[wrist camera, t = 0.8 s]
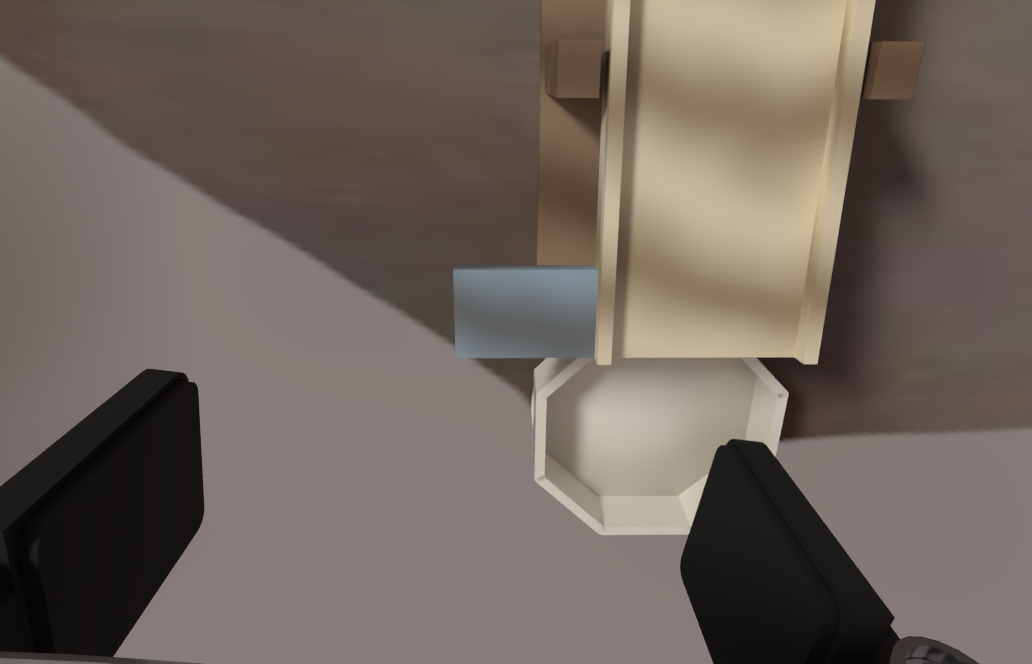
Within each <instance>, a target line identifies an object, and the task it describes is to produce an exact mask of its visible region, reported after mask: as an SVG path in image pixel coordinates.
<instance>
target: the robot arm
mask: <svg viewBox="0 0 1032 664" xmlns="http://www.w3.org/2000/svg"><path fill="white" fill-rule="evenodd" d="M200 436H201V435H200V416H199V398H198V387H197V385H196V384H195V383H194V382H189V381H188V378H187V376H186V375H185V374H184V373H181V372H172V371H164V370H155V369H146V370H145V371H143V372H141V373H140V374H139V375H138V376H137V377H135V378H134V379H133V380H132V381H130V382H129V383H128V384H127V385H125V386H124V387H123V388H122V389H120V390H119V391H118V392H117V393H116V394H114V395H113V396H112V397H111V398H109V399H108V400H107V401H106V402H104V403H103V404H102V405H101V406H99V407H98V408H97V409H96V410H94V411H93V412H92V413H91V414H90V415H88V416H87V417H86V418H85V419H83V420H82V421H81V422H80V423H78V424H77V425H76V426H75V427H73V428H72V429H71V430H70V431H68V432H67V433H66V434H65V435H64V436H62V437H61V438H60V439H59V440H57V441H56V442H55V443H54V444H52V445H51V446H50V447H49V448H47V449H46V450H45V451H44V452H42V453H41V454H40V455H39V456H38V457H36V458H35V459H34V460H33V461H32V462H30V463H29V464H28V465H27V466H25V467H24V468H23V469H21V470H20V471H19V472H18V473H17V474H16V475H14V476H13V477H12V478H10V479H9V480H8V481H7V482H5V483H4V484H3V485H2V486H0V664H202V663H188V662H175V661H162V660H147V659H133V658H117V657H113V656H114V655H115V653H116V652H117V650H118V649H119V647H120V646H121V644H122V643H123V641H124V640H125V638H126V637H127V635H128V634H129V632H130V631H131V629H132V628H133V626H134V625H135V623H136V622H137V620H138V619H139V618H140V616H141V614H142V613H143V612H144V610H145V609H146V607H147V606H148V604H149V603H150V601H151V600H152V598H153V597H154V595H155V594H156V592H157V591H158V589H159V588H160V586H161V585H162V583H163V582H164V580H165V579H166V577H167V576H168V574H169V573H170V571H171V570H172V568H173V567H174V565H175V564H176V562H177V561H178V559H179V558H180V557H181V555H182V554H183V552H184V551H185V549H186V548H187V546H188V545H189V543H190V542H191V540H192V539H193V537H194V535H195V534H196V533H197V531H198V529H199V528H200V525H201V523H202V519H203V515H204V494H203V474H202V456H201V437H200ZM680 569H681V570H680V571H681V576H682V580H683V583H684V585H685V588H686V590H687V594H688V596H689V599H690V602H691V604H692V607H693V610H694V612H695V615H696V618H697V620H698V623H699V626H700V629H701V631H702V634H703V637H704V639H705V642H706V645H707V647H708V650H709V653H710V655H711V658H712V661H713V663H714V664H979V663H977V662H976V661H975V660H973V659H971V658H970V657H968V656H967V655H965V654H963V653H962V652H960V651H959V650H957V649H955V648H953V647H950V646H948V645H946V644H944V643H941V642H939V641H936V640H932V639H928V638H925V637H912V636H908V637H905V638H903V639H899V637H898V636H897V634H896V633H895V632H894V630H893V629H892V628H891V626H890V625H891V623H892V622H893V620H894V618H895V617H894V616H893V615H892V614H891V612H890V611H889V609H888V608H887V607H886V605H885V604H884V603H883V601H882V600H881V599H880V597H879V596H878V595H877V593H876V592H875V591H874V589H873V588H872V586H871V585H870V584H869V582H868V581H867V580H866V578H865V577H864V576H863V574H862V573H861V572H860V570H859V569H858V568H857V566H856V565H855V564H854V562H853V561H852V560H851V558H850V557H849V555H848V554H847V553H846V551H845V550H844V549H843V547H842V546H841V545H840V543H839V542H838V541H837V539H836V538H835V537H834V535H833V534H832V533H831V531H830V530H829V529H828V527H827V526H826V525H825V523H824V522H823V521H822V519H821V518H820V516H819V515H818V514H817V512H816V511H815V510H814V508H813V507H812V506H811V504H810V503H809V502H808V500H807V499H806V498H805V496H804V495H803V494H802V492H801V491H800V490H799V488H798V487H797V486H796V484H795V483H794V482H793V480H792V479H791V478H790V476H789V475H788V473H787V472H786V471H785V469H784V468H783V467H782V465H781V464H780V463H779V461H778V460H777V459H776V457H775V456H774V455H773V453H772V452H771V451H770V449H769V448H768V447H767V445H766V444H764V443H763V442H757V441H748V440H740V439H731V440H729V441H728V443H727V444H726V446H725V445H721V446H719V447H718V448H717V450H716V453H715V456H714V459H713V462H712V465H711V468H710V471H709V474H708V477H707V480H706V483H705V486H704V489H703V492H702V496H701V499H700V502H699V505H698V508H697V511H696V514H695V517H694V520H693V523H692V526H691V529H690V532H689V535H688V538H687V542H686V545H685V548H684V551H683V554H682V557H681V564H680Z"/></svg>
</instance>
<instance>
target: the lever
mask: <svg viewBox="0 0 1032 664" xmlns="http://www.w3.org/2000/svg"><path fill="white" fill-rule="evenodd" d="M875 1H876V0H606V18H605V41H604V53H601V70H600V86H603V89H602V113H601V137H600V160H599V184H598V208H597V232H596V256H595V265H455V267H454V269H453V279H454V314H455V349H456V358H595V360H596V363H597V365H611V360H612V358H733V357H795V358H796V359H797V360H799V361H800V362H801V363H803V364H818V357H819V351H820V345H821V339H822V332H823V326H824V320H825V314H826V307H827V301H828V295H829V289H830V282H831V276H832V270H833V264H834V258H835V251H836V245H837V239H838V233H839V226H840V220H841V214H842V208H843V201H844V195H845V189H846V183H847V176H848V170H849V164H850V158H851V151H852V145H853V139H854V133H855V126H856V120H857V114H858V108H859V101H860V95H861V89H862V83H863V76H864V70H865V64H866V58H867V51H868V45H869V39H870V33H871V26H872V20H873V14H874V8H875Z"/></svg>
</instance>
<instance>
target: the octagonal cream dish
mask: <svg viewBox="0 0 1032 664" xmlns="http://www.w3.org/2000/svg"><path fill="white" fill-rule="evenodd" d="M788 395H789V393H788V392H787V390H786V389H785V388H784V387H783V386H782V385H781V384H780V382H779V381H778V380H777V379H776V378H775V377H774V376H773V375H772V373H771V372H770V371H769V370H768V369H767V368H766V367H765V366H764V365H763V364H762V362H761V361H760V360H759V359H758V358H757V357H733V358H612V360H611V365H597V363H596V360H595V358H544V360H543V361H542V363H541V364H540V365H539V366H538V367H536V368H535V369H534V385H533V389H532V398H531V413H532V426H533V450H532V451H533V465H534V480H535V481H536V482H537V483H538V484H539V485H540V486H542V487H543V488H544V489H545V490H546V491H548V492H549V493H550V494H551V495H552V496H554V497H555V498H556V499H557V500H559V501H560V502H561V503H562V504H563V505H565V506H566V507H567V508H568V509H569V510H570V511H572V512H573V513H574V514H575V515H576V516H578V517H579V518H580V519H581V520H582V521H584V522H585V523H586V524H587V525H589V526H590V527H591V528H592V529H593V530H595V531H596V532H597V533H598V534H601V535H663V534H664V535H669V534H670V535H673V534H689V532H690V529H691V526H692V523H693V520H694V517H695V514H696V511H697V508H698V505H699V502H700V499H701V496H702V492H703V489H704V486H705V483H706V480H707V477H708V474H709V471H710V468H711V465H712V462H713V459H714V456H715V453H716V450H717V448H718V447H719V446H721V445H725V446H726V444H727V443H728V441H729V440H731V439H740V440H748V441H757V442H763V443H764V444H766V445H767V447H768V448H769V449H770V451H771V452H772V453H773V455H774V456H775V457H776V453H777V448H778V443H779V438H780V434H781V429H782V424H783V419H784V414H785V410H786V405H787V400H788Z"/></svg>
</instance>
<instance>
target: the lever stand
mask: <svg viewBox="0 0 1032 664" xmlns="http://www.w3.org/2000/svg"><path fill="white" fill-rule="evenodd" d="M605 18H606V0H541V48H540V103H539V158H538V212H537V265H595V256H596V232H597V208H598V184H599V160H600V137H601V113H602V89H603V86H600V70H601V53H604V41H605ZM925 42H926V41H879V42H869V45H868V51H867V58H866V64H865V70H864V76H863V83H862V89H861V95H860V98H861V99H912V95H913V91H914V86H915V82H916V78H917V74H918V70H919V66H920V62H921V58H922V54H923V50H924V46H925Z"/></svg>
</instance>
